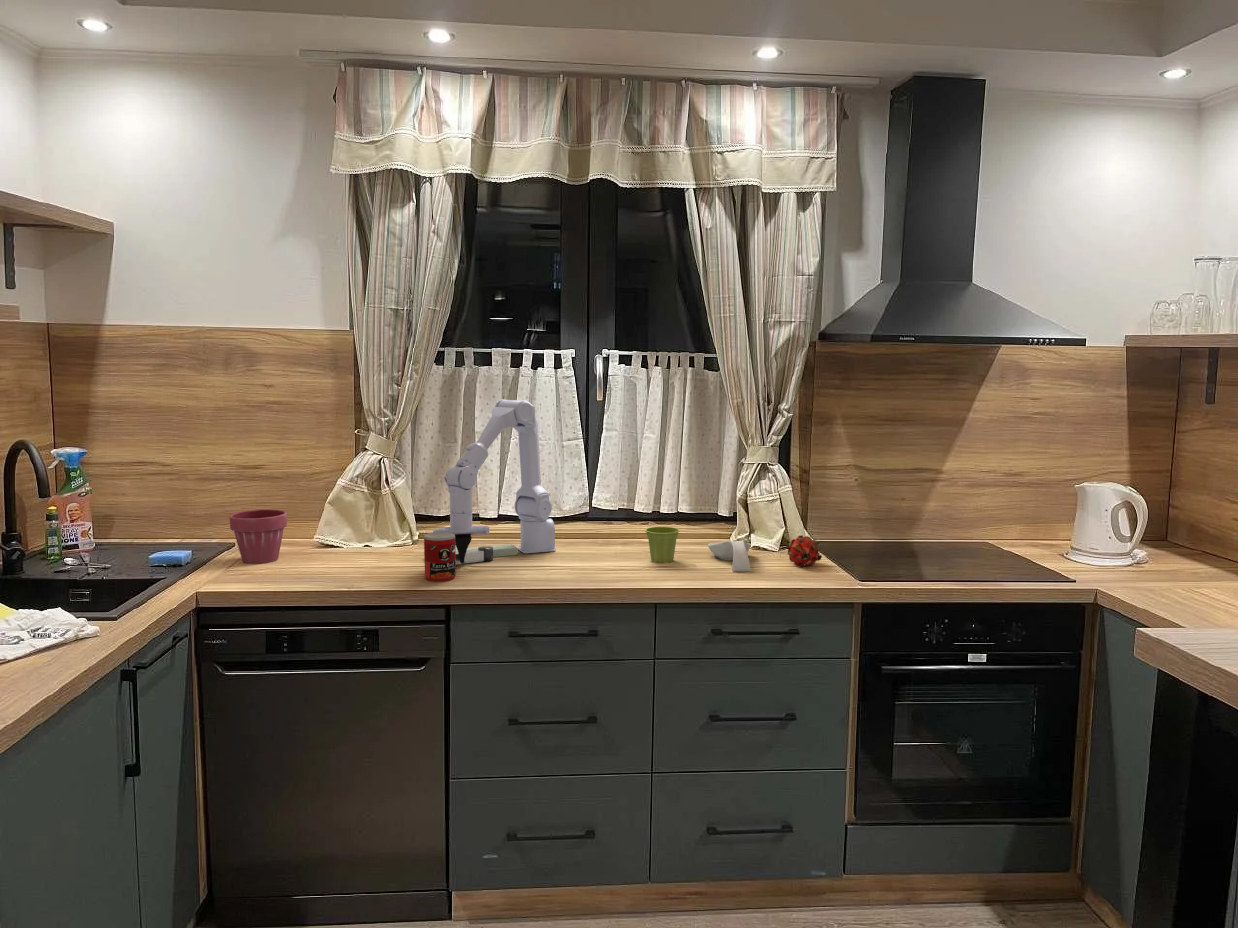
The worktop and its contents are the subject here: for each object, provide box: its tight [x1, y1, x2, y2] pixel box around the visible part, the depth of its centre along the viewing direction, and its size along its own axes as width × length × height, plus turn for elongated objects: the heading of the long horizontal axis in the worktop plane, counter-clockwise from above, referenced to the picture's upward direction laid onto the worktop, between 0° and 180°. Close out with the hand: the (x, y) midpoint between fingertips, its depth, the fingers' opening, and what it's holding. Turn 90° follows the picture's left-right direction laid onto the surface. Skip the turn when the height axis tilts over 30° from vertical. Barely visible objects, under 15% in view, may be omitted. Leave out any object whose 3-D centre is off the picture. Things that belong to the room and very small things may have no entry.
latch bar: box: [456, 545, 494, 565], centre depth 249 cm, size 14×4×3 cm, turn 124°
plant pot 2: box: [644, 526, 681, 564], centre depth 253 cm, size 9×9×9 cm
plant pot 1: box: [229, 508, 288, 565], centre depth 250 cm, size 14×14×13 cm
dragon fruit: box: [787, 534, 823, 568], centre depth 249 cm, size 8×8×12 cm
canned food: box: [423, 531, 457, 583], centre depth 232 cm, size 8×8×11 cm
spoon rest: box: [707, 539, 752, 573], centre depth 252 cm, size 24×12×7 cm, turn 5°
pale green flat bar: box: [455, 543, 518, 558], centre depth 257 cm, size 24×5×2 cm, turn 114°
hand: (461, 562), depth 245 cm, fingers closed, pressing on latch bar
